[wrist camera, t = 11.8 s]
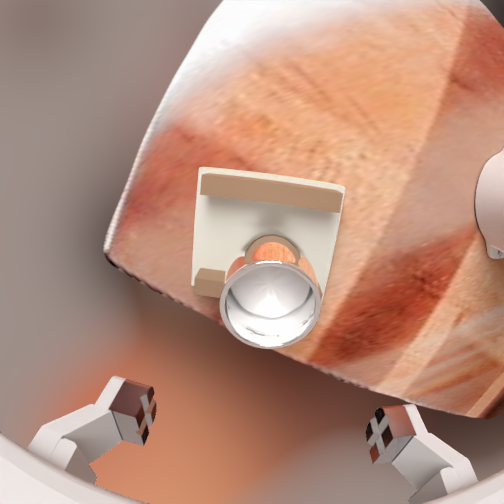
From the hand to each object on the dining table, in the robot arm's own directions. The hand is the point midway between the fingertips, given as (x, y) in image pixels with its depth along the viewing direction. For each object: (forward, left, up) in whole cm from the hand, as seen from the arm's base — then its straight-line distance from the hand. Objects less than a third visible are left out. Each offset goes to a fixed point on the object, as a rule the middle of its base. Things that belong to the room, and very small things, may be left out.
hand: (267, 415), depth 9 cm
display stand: (0, +1, -27) cm, 27 cm away
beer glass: (0, +1, -25) cm, 25 cm away
